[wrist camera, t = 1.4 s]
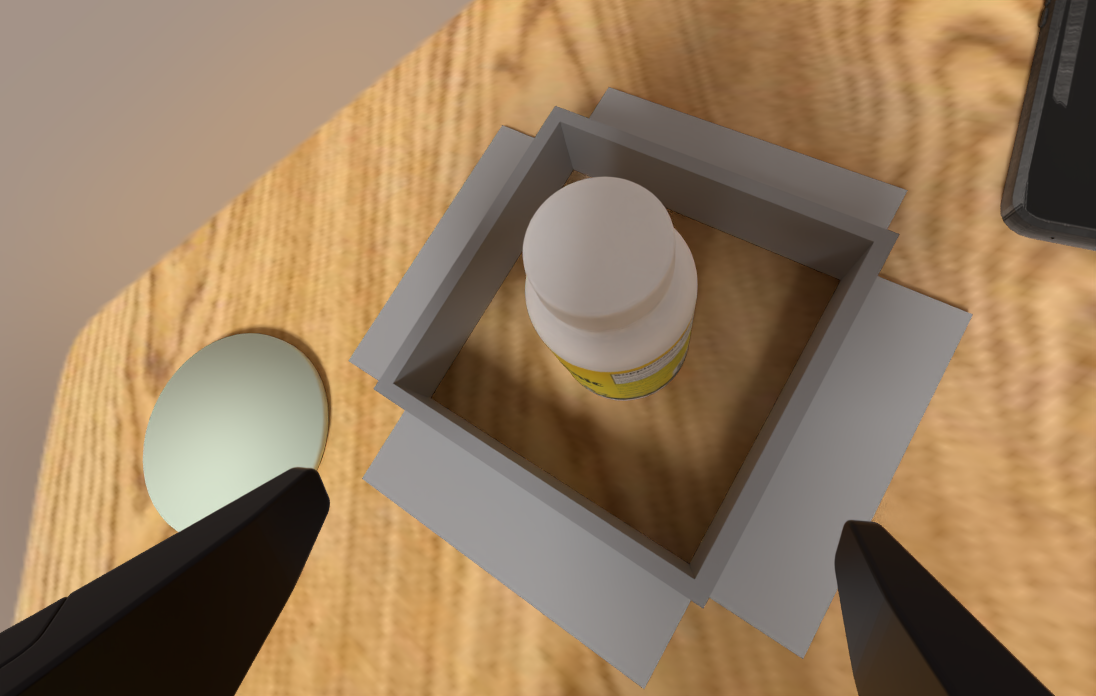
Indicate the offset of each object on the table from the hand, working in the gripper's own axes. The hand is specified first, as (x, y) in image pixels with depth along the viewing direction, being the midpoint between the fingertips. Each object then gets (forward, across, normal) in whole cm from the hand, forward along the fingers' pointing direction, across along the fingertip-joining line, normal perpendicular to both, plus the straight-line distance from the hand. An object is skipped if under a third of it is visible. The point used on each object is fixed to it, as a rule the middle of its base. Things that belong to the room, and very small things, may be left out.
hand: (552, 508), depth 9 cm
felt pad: (+10, +19, +8) cm, 23 cm away
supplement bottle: (+14, 0, +5) cm, 15 cm away
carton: (+14, 0, +4) cm, 14 cm away
